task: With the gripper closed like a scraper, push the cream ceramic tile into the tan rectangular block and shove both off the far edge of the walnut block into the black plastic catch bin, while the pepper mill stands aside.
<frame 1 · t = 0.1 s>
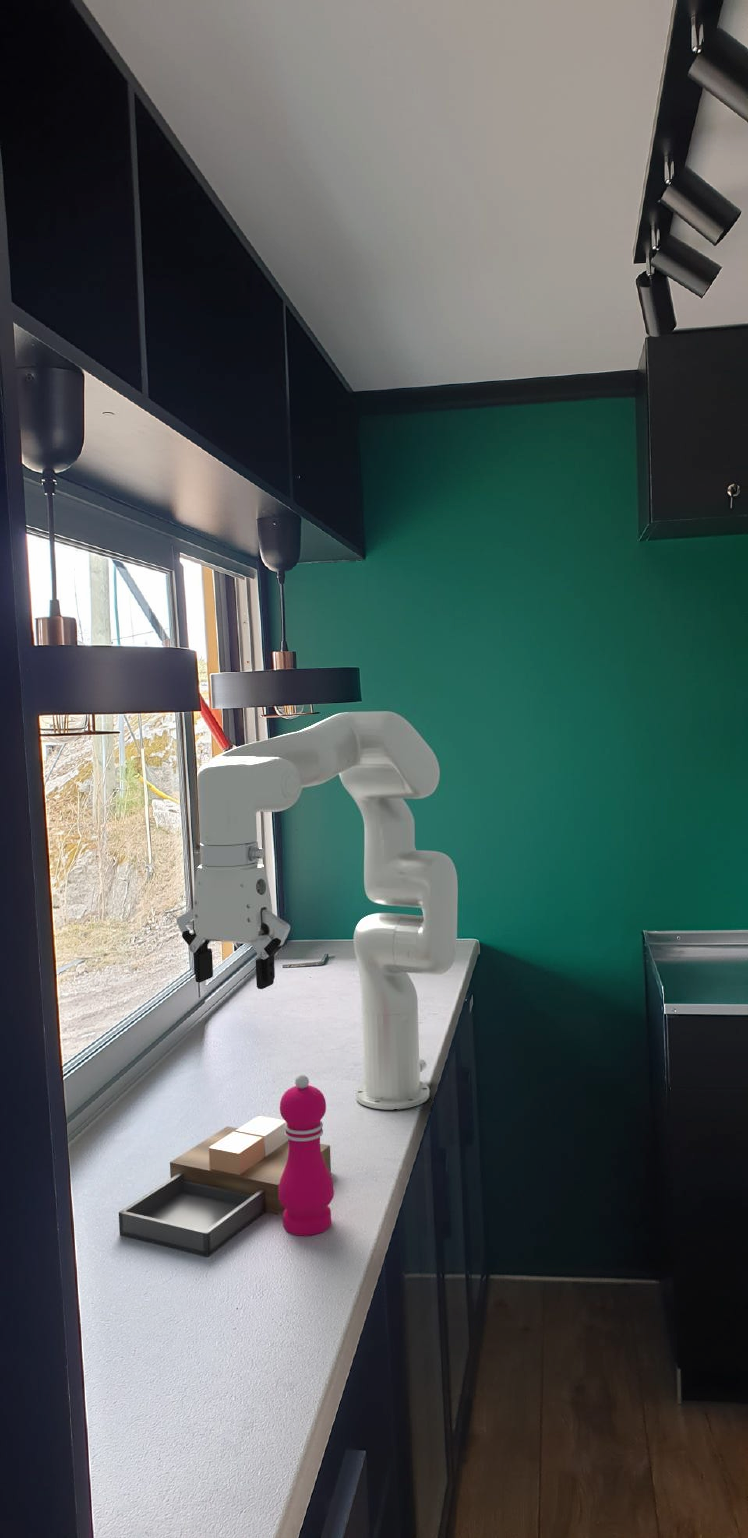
hand: (234, 983, 148), 31 cm above the worktop, tool pointing down, fingers open, 9 cm apart
walnut block: (252, 1180, 159), on the worktop
catch bin: (193, 1223, 147), on the worktop
tile cream: (262, 1145, 162), point 4 cm above the worktop, touching walnut block
pepper mill: (307, 1225, 146), on the worktop
tan rectangular block: (236, 1163, 156), point 4 cm above the worktop, touching walnut block
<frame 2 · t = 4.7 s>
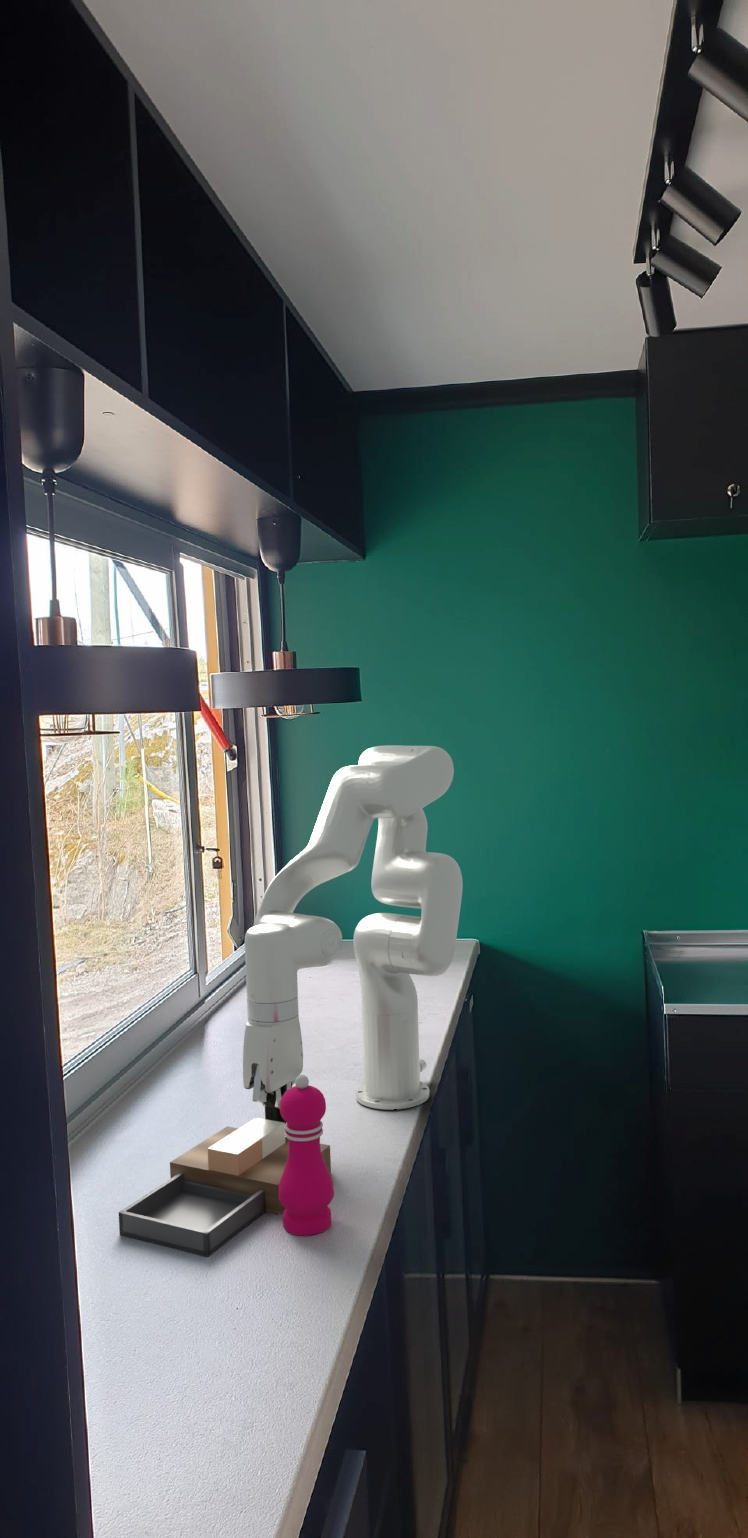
hand: (277, 1129, 165), 5 cm above the worktop, tool pointing down, fingers closed
tile cream: (259, 1147, 161), point 4 cm above the worktop, touching gripper, walnut block
everything else where it was.
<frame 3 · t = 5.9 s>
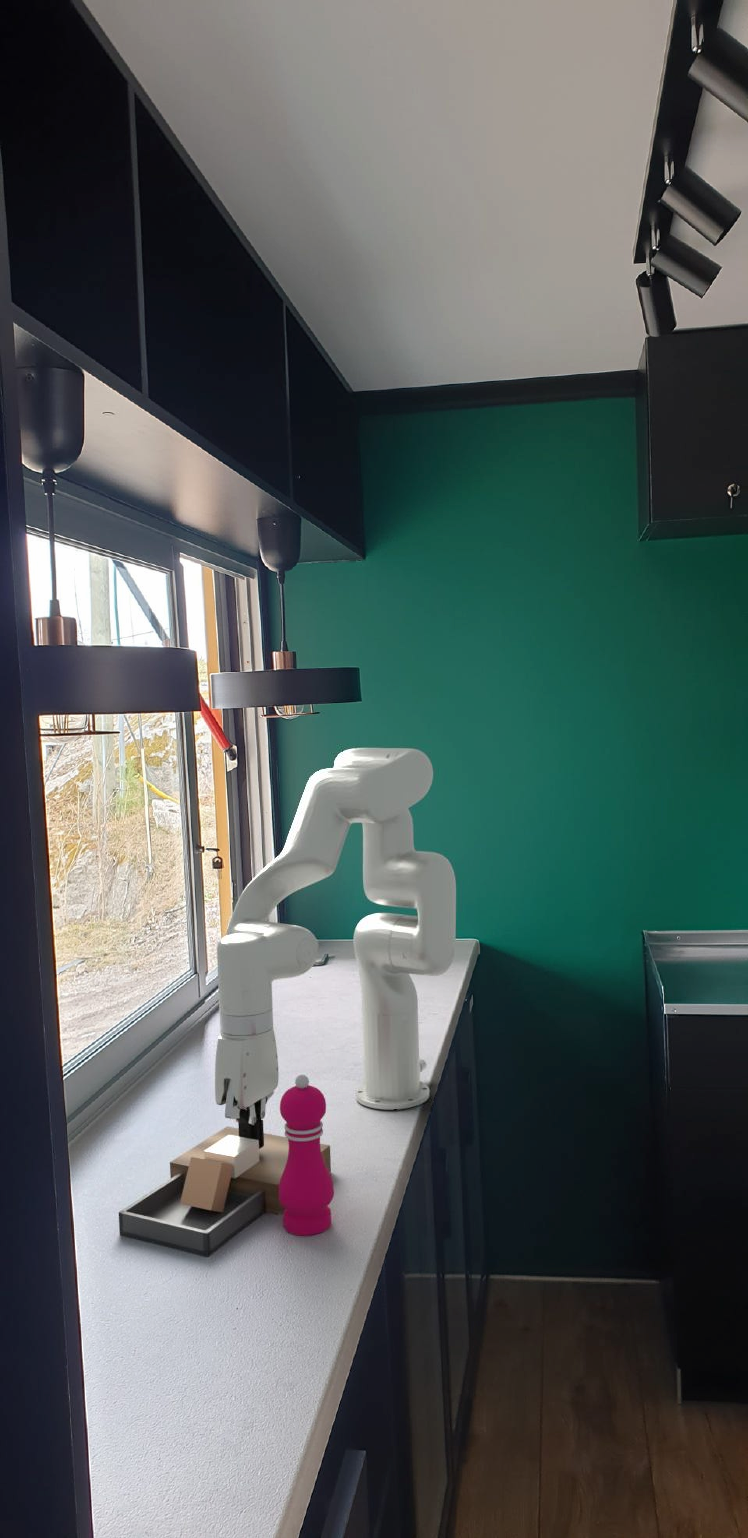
hand: (251, 1147, 159), 5 cm above the worktop, tool pointing down, fingers closed
tile cream: (232, 1166, 155), point 4 cm above the worktop, touching gripper, walnut block
tan rectangular block: (212, 1185, 151), point 3 cm above the worktop, tilted 61°, touching catch bin
everything else where it was.
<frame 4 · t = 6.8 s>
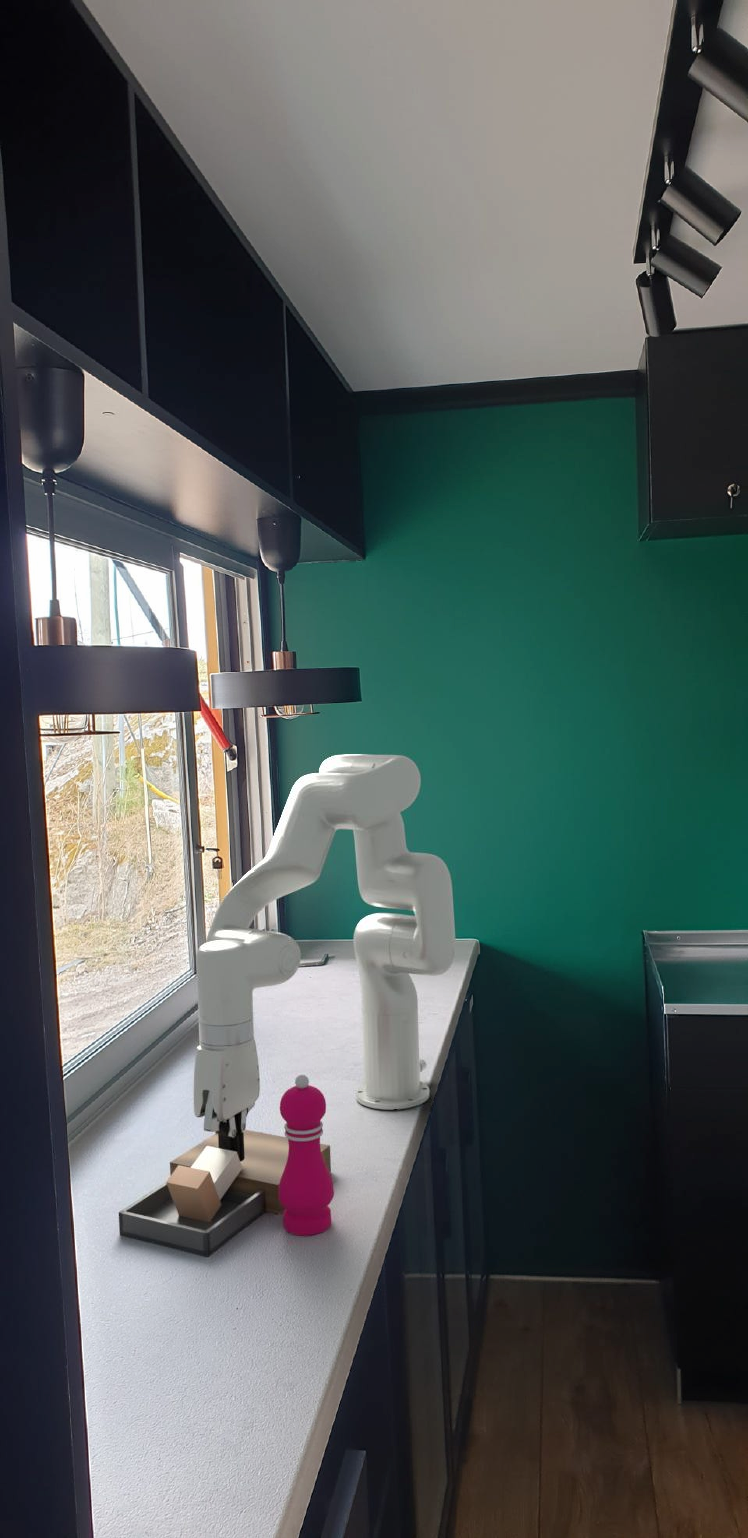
hand: (231, 1160, 155), 5 cm above the worktop, tool pointing down, fingers closed
tile cream: (215, 1181, 152), point 3 cm above the worktop, tilted 22°, touching gripper, tan rectangular block
tan rectangular block: (200, 1184, 148), point 5 cm above the worktop, tilted 113°, touching tile cream
everything else where it was.
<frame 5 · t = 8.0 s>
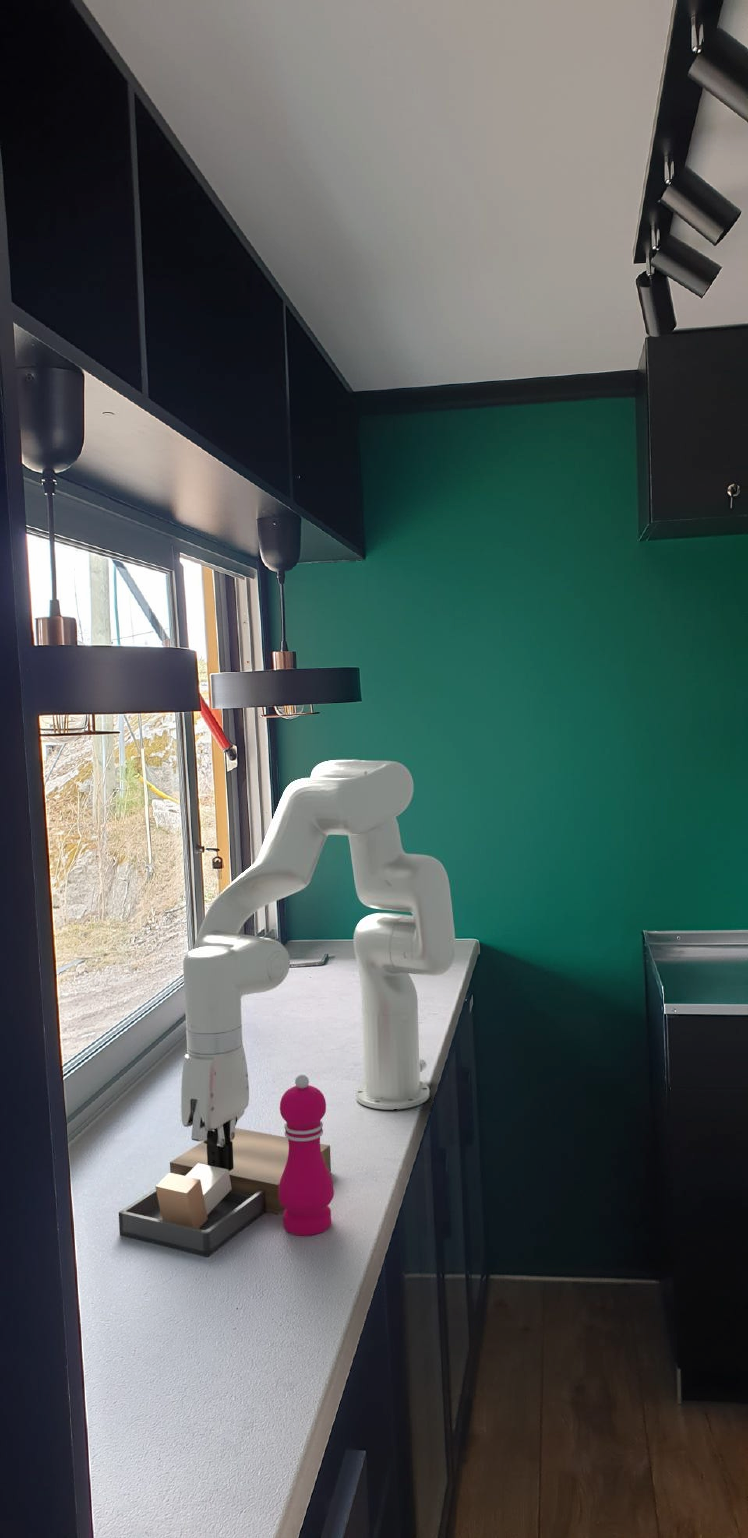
hand: (220, 1169, 152), 5 cm above the worktop, tool pointing down, fingers closed
tile cream: (203, 1198, 149), point 2 cm above the worktop, tilted 12°, touching gripper, tan rectangular block
tan rectangular block: (188, 1195, 146), point 4 cm above the worktop, tilted 102°, touching catch bin, tile cream
everything else where it was.
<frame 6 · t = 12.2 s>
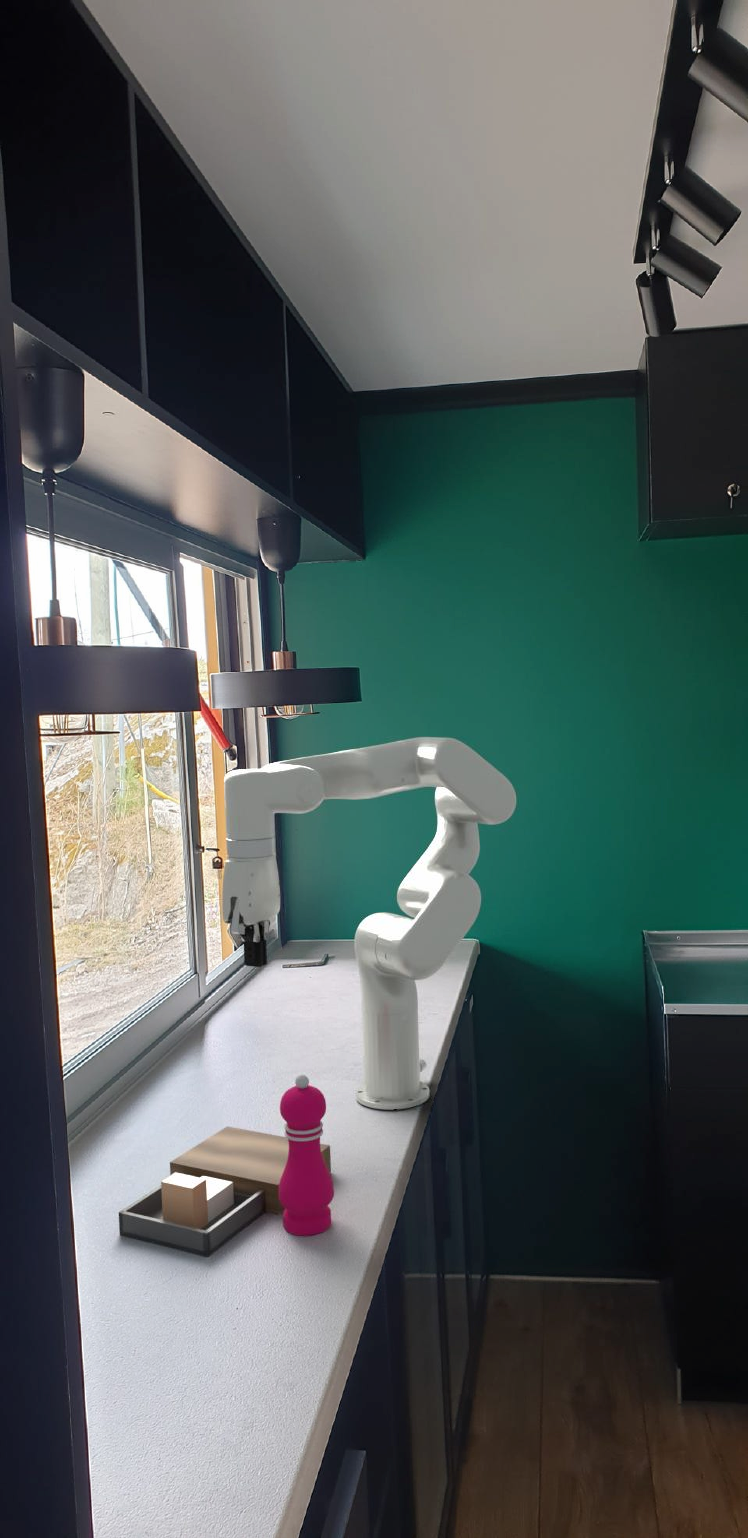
hand: (255, 964, 174), 27 cm above the worktop, tool pointing down, fingers closed
tile cream: (205, 1209, 150), point 1 cm above the worktop, touching catch bin
tan rectangular block: (191, 1197, 146), point 4 cm above the worktop, tilted 90°, touching catch bin
everything else where it was.
at the end: tile cream inside the target area on the catch bin (2.8 cm from its centre), point 0.6 cm above the catch bin's base; tan rectangular block inside the target area on the catch bin (0.3 cm from its centre), point 3.6 cm above the catch bin's base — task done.
